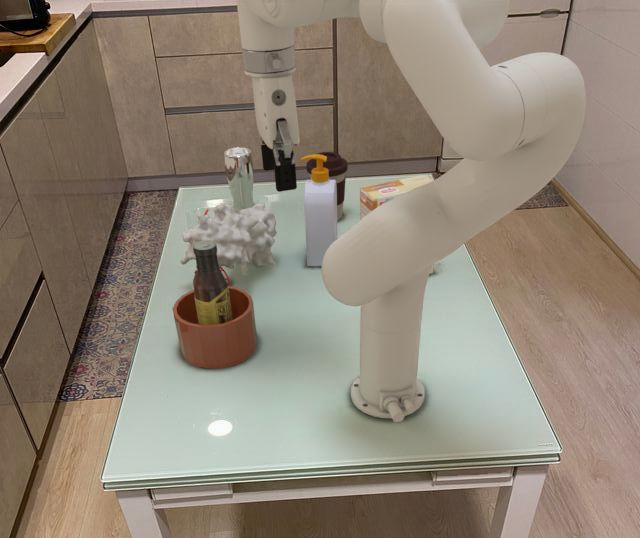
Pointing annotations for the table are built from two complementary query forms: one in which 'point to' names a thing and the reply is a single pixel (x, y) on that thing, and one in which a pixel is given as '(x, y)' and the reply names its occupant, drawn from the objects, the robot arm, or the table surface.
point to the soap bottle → (319, 212)
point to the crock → (216, 332)
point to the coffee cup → (333, 175)
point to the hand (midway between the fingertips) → (279, 179)
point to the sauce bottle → (210, 286)
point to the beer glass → (240, 177)
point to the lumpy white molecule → (235, 235)
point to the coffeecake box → (388, 193)
